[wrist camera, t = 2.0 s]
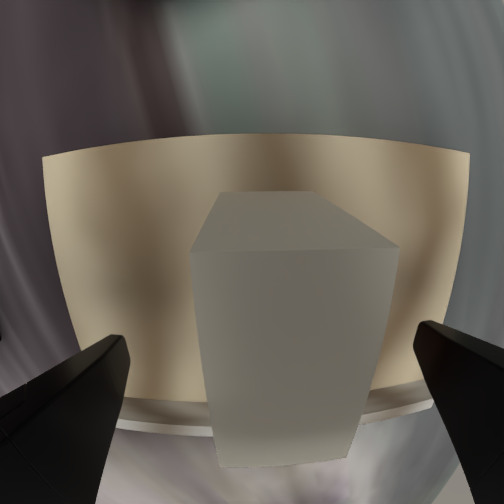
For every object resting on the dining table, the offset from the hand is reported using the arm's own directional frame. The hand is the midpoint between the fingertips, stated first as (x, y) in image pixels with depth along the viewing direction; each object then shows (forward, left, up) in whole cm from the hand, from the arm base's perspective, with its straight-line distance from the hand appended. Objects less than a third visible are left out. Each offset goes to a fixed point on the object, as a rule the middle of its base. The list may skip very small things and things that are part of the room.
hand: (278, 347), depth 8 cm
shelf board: (0, -2, -7) cm, 7 cm away
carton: (0, 0, -6) cm, 6 cm away
